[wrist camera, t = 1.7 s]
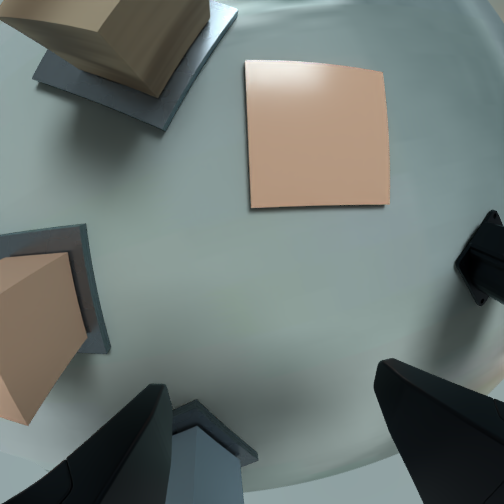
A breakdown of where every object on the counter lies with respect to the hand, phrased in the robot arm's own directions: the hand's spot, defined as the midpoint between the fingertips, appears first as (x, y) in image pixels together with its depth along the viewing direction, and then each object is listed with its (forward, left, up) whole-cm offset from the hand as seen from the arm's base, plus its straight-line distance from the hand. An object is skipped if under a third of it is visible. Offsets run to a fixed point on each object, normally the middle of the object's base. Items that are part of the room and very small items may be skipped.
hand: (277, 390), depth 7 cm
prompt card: (+2, -9, -12) cm, 15 cm away
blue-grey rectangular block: (-8, +16, -11) cm, 21 cm away
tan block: (+9, +11, -11) cm, 18 cm away
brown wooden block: (+14, -6, -11) cm, 19 cm away
